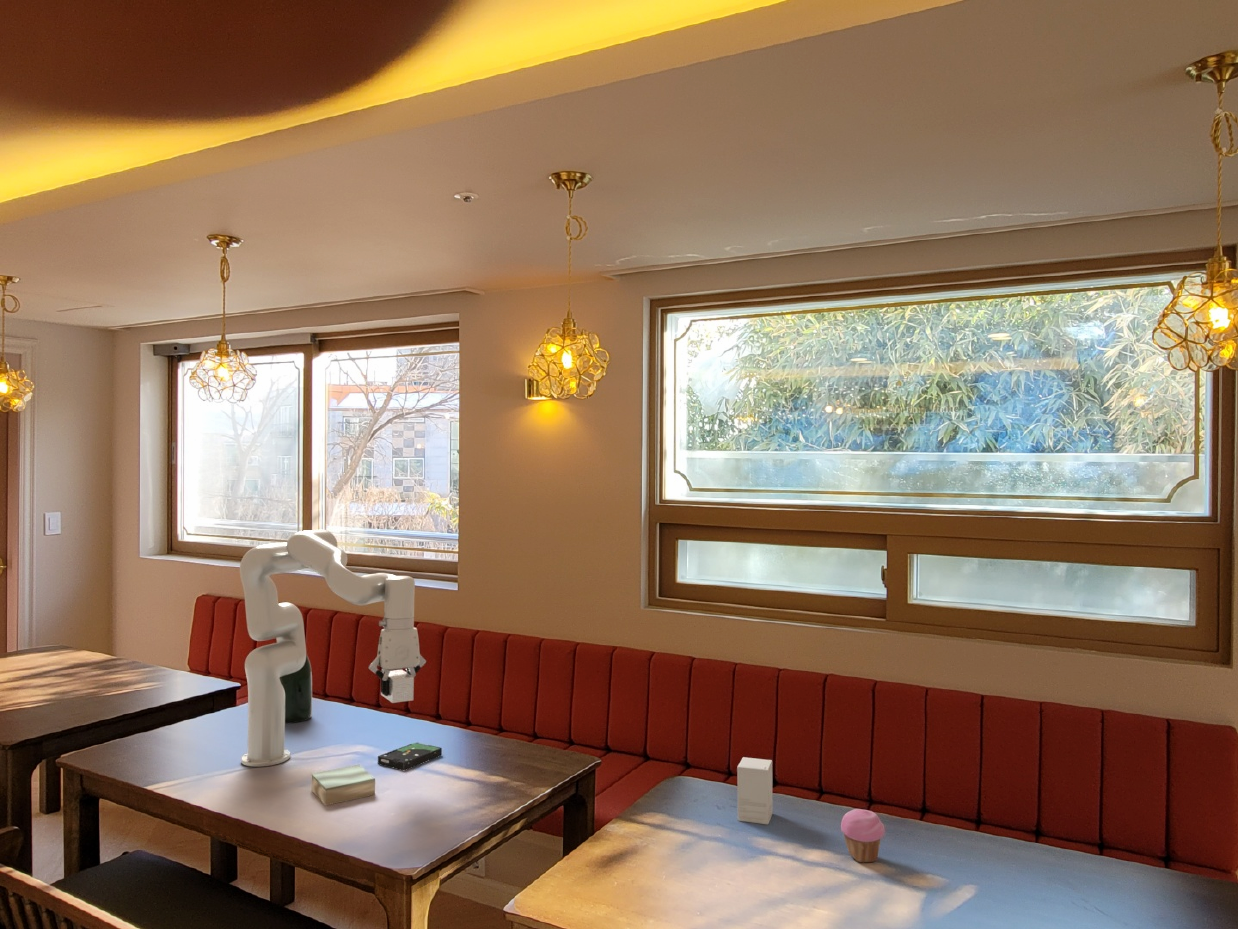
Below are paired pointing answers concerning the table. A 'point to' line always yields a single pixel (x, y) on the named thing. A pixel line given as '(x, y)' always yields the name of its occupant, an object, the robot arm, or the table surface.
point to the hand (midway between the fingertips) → (397, 692)
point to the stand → (343, 784)
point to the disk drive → (409, 756)
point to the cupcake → (862, 834)
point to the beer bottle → (298, 693)
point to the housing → (400, 686)
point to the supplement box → (755, 790)
